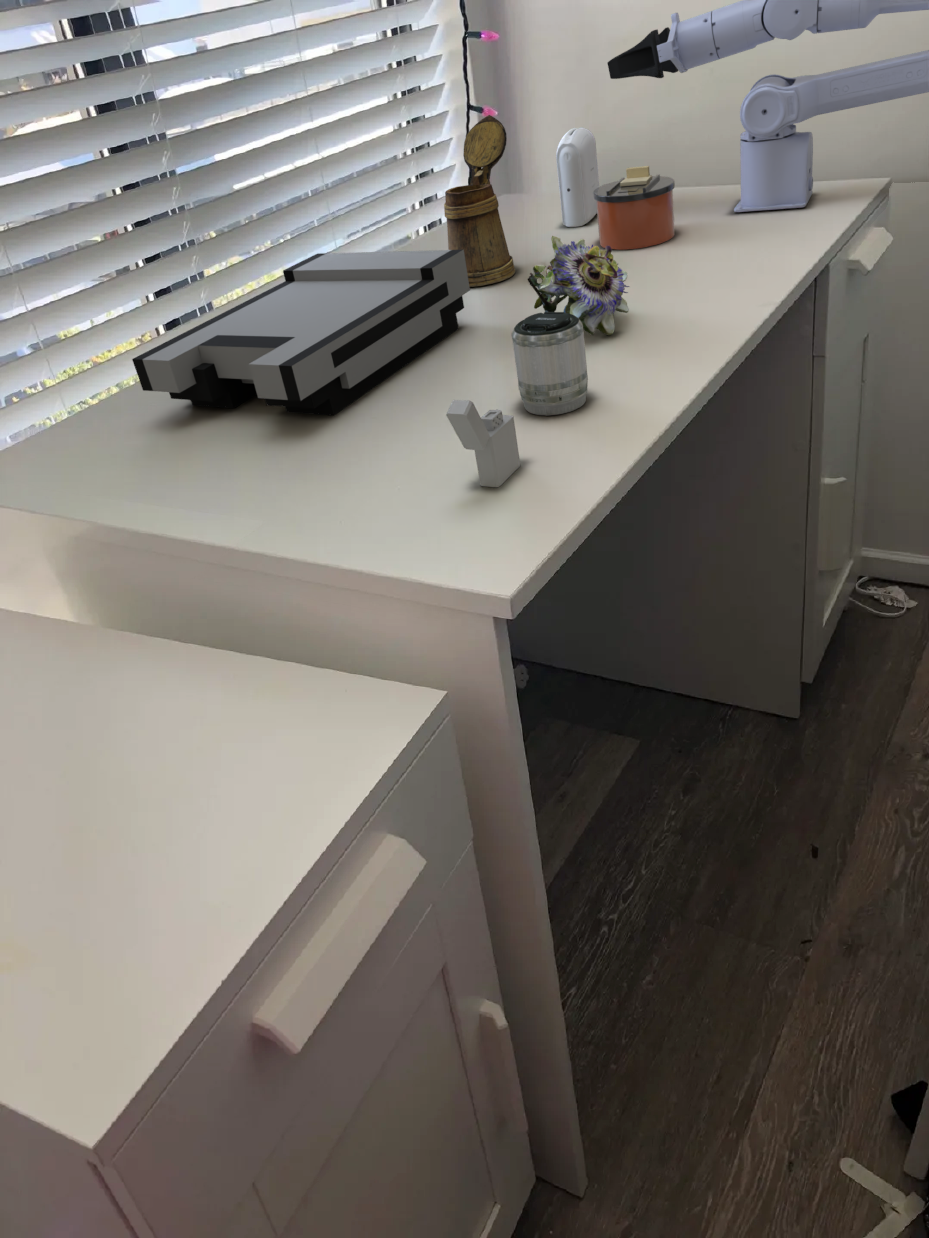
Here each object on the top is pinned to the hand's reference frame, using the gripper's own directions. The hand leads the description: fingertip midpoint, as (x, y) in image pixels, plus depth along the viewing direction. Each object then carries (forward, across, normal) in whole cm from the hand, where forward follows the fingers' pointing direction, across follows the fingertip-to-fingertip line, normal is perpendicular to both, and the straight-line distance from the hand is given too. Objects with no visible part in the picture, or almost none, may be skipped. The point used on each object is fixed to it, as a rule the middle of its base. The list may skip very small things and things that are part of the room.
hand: (615, 68), depth 137 cm
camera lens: (-5, +68, +25) cm, 73 cm away
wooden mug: (+16, +23, +19) cm, 34 cm away
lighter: (-4, +84, +26) cm, 88 cm away
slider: (-2, +11, +14) cm, 18 cm away
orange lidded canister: (-1, +12, +21) cm, 24 cm away
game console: (+24, +58, +20) cm, 65 cm away
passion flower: (-2, +48, +23) cm, 53 cm away
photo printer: (+10, -3, +18) cm, 21 cm away
